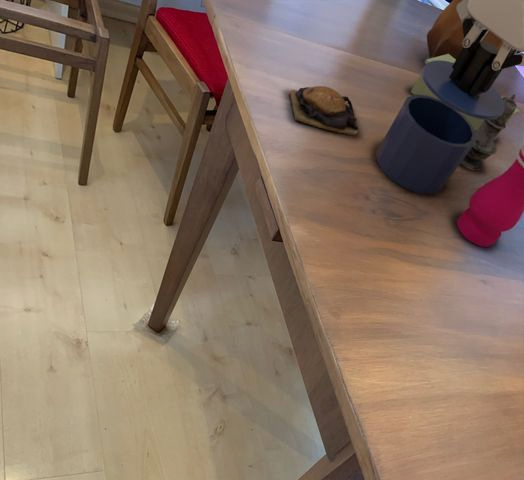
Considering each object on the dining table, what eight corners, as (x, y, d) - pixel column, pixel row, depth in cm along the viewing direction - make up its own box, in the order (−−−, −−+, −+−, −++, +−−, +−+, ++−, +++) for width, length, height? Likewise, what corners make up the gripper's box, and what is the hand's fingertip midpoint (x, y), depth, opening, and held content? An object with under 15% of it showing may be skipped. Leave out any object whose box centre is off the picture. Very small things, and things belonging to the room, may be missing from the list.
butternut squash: (470, 65, 115) (557, -73, 96) (484, 101, 107) (582, -40, 88) (410, 43, 112) (488, -104, 92) (420, 79, 104) (507, -73, 84)
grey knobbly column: (481, 176, 91) (531, 112, 81) (449, 160, 91) (496, 93, 81) (484, 159, 94) (532, 95, 85) (453, 143, 94) (499, 77, 85)
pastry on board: (293, 124, 82) (302, 101, 79) (287, 90, 87) (296, 68, 84) (358, 139, 85) (369, 118, 83) (349, 106, 90) (359, 85, 87)
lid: (514, 112, 78) (546, 68, 73) (472, 132, 71) (505, 84, 66) (449, 61, 81) (476, 15, 76) (402, 75, 74) (429, 25, 69)
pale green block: (497, 139, 100) (519, 110, 95) (477, 149, 96) (500, 119, 91) (430, 84, 104) (448, 53, 99) (408, 91, 100) (426, 59, 95)
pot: (455, 182, 87) (489, 136, 81) (417, 203, 81) (450, 154, 74) (403, 137, 90) (432, 89, 83) (362, 153, 83) (389, 102, 77)
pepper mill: (455, 206, 83) (550, 83, 68) (497, 227, 84) (601, 109, 68) (452, 236, 79) (552, 111, 63) (497, 257, 79) (608, 139, 64)
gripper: (636, -32, 60) (524, 116, 75) (520, -108, 64) (435, 46, 79) (613, -28, 56) (499, 128, 71) (490, -110, 60) (406, 54, 75)
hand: (466, 84), depth 75 cm, fingers closed on lid, 2 cm apart
